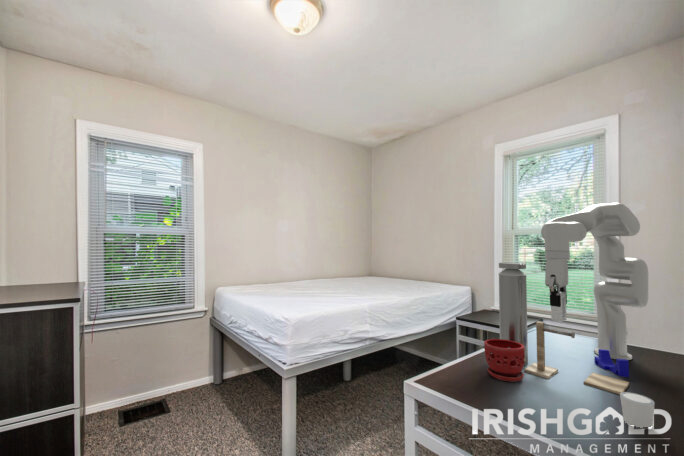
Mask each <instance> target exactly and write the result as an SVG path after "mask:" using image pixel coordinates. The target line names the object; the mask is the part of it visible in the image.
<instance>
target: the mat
mask: <svg viewBox="0 0 684 456" xmlns="http://www.w3.org/2000/svg"><path fill="white" fill-rule="evenodd" d="M583 385H586V386H589V387H593V388H597V389H600V390H603V391H606V392H610V393H613V394H617V395H620V393H622V392H626V390H627V388H628V387H629V386H630V382H629V381H627V380H623V379H620V378H615V377H611V376H607V375H603V374H599V373H597V372H592V373H591V374H590V375H588V376H587V378H586V379H584V381H583Z"/></svg>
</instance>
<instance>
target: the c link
mask: <svg viewBox="0 0 684 456" xmlns="http://www.w3.org/2000/svg"><path fill="white" fill-rule="evenodd" d="M566 294H567V293H566V292H560V293H559V296H561V307H556V306H551V305H550V310H551V311H550V312H551V313H550V316H551V317H550V318H551V321H553V322H557V323H563V322H564V321H566V320H567V304H566Z"/></svg>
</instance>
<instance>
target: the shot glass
mask: <svg viewBox="0 0 684 456" xmlns="http://www.w3.org/2000/svg"><path fill="white" fill-rule="evenodd" d="M619 398H620V404H621V410H622V419H623V422H624V421H625V422H624V423H625V424H626V423H627V424H626V425H628V424H629V425H628V426H630V425H634V426H636V427H640V428H643V427H651V426H654V425H653V424H654V415H655V414H654V413H655V401H654V400H653V399H651V398H650V397H648V396H646V395H643V394H638V393H635V392H629V391H624V392H622V393H620V394H619Z"/></svg>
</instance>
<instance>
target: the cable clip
mask: <svg viewBox="0 0 684 456" xmlns="http://www.w3.org/2000/svg"><path fill="white" fill-rule="evenodd" d="M598 350H599V355H598V356H594V365H596V366H598V367H600V368H601V369H603V370H607V371H611V372H612V373H614V374H615V375H617V376H618V377H622V378H623V377H624V378H629V377H630V366H629V365H630V364H629V361H630V360H626V359H615V360H616V361H615V363H614V361H613V359H611V357H610V353H609V350H605V349H598Z"/></svg>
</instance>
